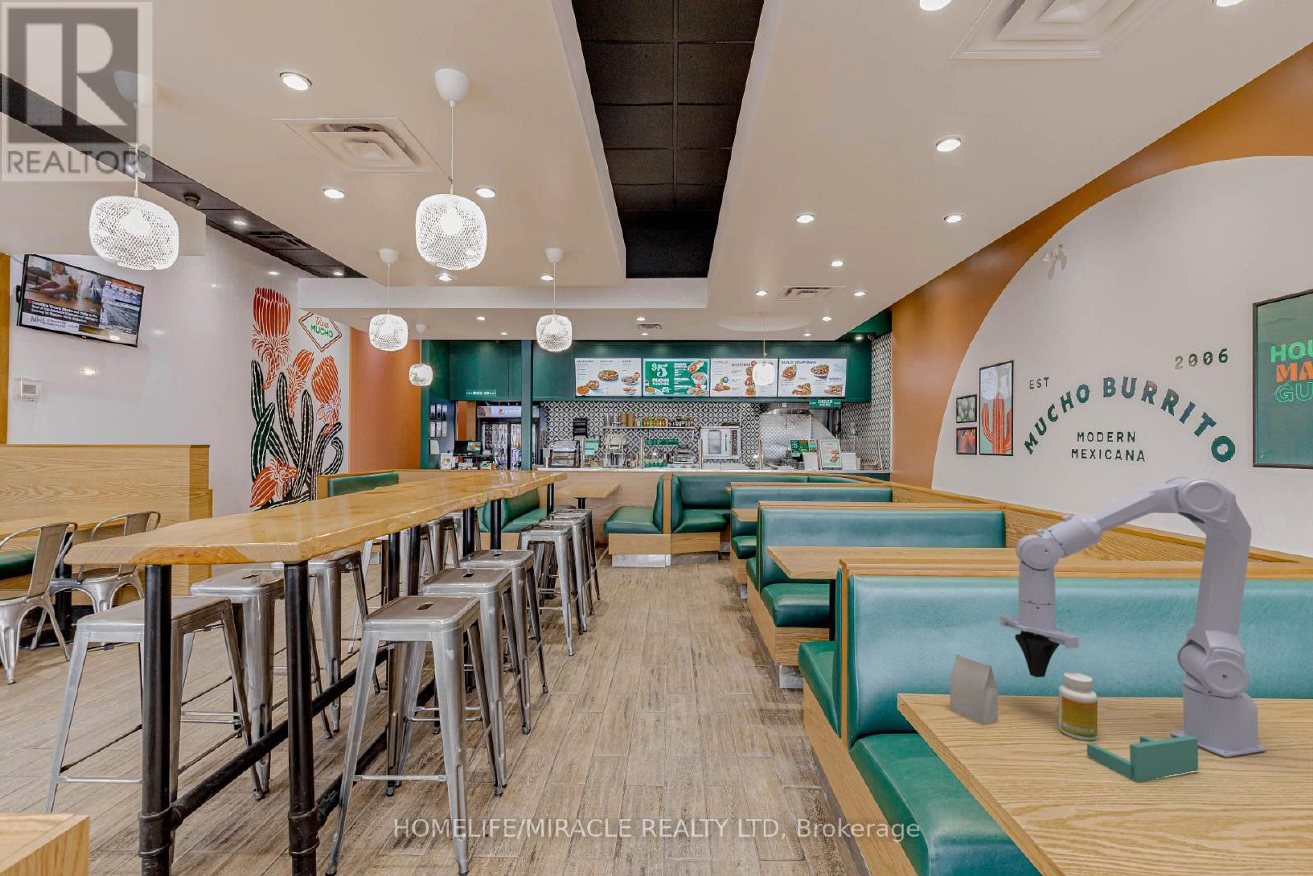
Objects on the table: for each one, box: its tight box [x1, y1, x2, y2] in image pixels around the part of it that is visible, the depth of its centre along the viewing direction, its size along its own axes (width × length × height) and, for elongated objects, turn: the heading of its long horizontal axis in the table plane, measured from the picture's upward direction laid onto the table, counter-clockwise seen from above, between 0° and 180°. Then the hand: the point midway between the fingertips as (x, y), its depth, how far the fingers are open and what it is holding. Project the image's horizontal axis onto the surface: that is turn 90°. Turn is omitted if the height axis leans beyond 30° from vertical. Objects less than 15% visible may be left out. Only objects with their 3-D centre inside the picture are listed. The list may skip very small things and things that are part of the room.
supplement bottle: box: [1057, 671, 1099, 741], centre depth 98 cm, size 5×5×10 cm
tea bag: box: [949, 654, 999, 726], centre depth 105 cm, size 4×7×10 cm, turn 25°
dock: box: [1086, 735, 1199, 783], centre depth 89 cm, size 12×8×5 cm, turn 105°
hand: (1037, 675), depth 106 cm, fingers closed
